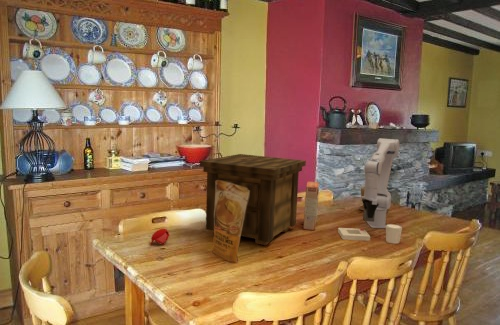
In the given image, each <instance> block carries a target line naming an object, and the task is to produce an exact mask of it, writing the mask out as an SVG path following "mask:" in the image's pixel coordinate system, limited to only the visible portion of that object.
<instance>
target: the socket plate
mask: <svg viewBox="0 0 500 325" xmlns="http://www.w3.org/2000/svg"><path fill="white" fill-rule="evenodd" d="M337 233H338V234H339V236H340V237H341V239H342V240H345V241H362V242H364V241H365V242H366V241H367V242H371V236H370V234H369V233H368V232H367V230H366V229H364V228H363V227H359V228H351V227H338V228H337Z"/></svg>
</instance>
